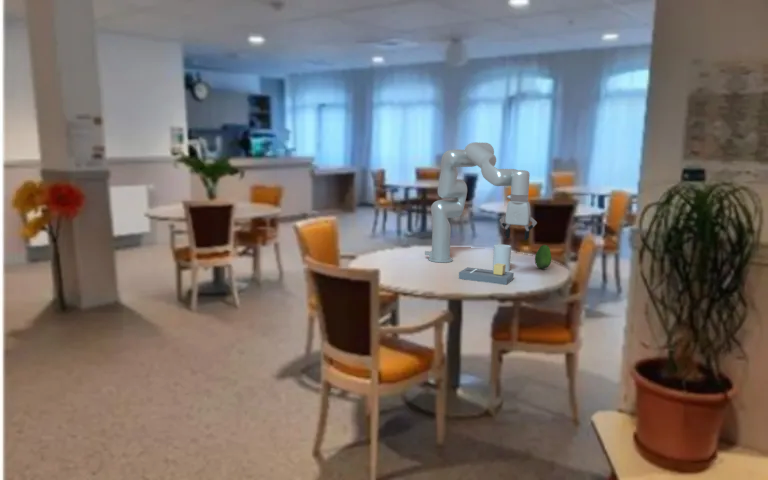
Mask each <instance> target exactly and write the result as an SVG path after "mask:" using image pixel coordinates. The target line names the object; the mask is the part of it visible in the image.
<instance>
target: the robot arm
mask: <svg viewBox="0 0 768 480" xmlns="http://www.w3.org/2000/svg"><path fill="white" fill-rule="evenodd" d="M494 149H495V148H494V147H493V145H492V144H490V143H488V142H471V143H467V145H466V146H465V148H464V149H448V150H447V151H445V152H444V153H443V154H442V156H441V163H440V164H441V165H440V166H441V167H440V175H439V181H438V185H437V195H438V197H440V198H441V199H438V200H436V201H434V202H433V203H432V204H431V206H430V207H431V208H430V211H431V212H430V213H431V221H432V224H431V225H432V226H431V227H432V228H431V230H432V233H431V235H432V236H431V250H425V251H424V255H425V256H428V261H429V262H433V263H450V262H453V257H451V235H452V233H451V232H452V231H451V230H452V226H451V224H450V222H449V219H450V218H451V219H453V218H454V219H456V218H459V217H461V216H462V214H463V213H464V210H465V209H464V208H465V205H466V199H467V194H468V186H467V183H466V182H465V181H464V180H462V179H458V178H457V177H458V169H457V168H473V167H478V168H479V169H480V172H481V174H482V178H483V179H485V181H487V182H488V183H489V184H491V185H493V186H495V187H508V186H509V187H510V194H509V195H507V197H506V198H507V199H509V201H508V202H507V206H506V212H505V215H504V216H502V217H501V218H500V219H499V223H500V224H501V225H502V227H503V228H504V229H505V235H504V236H505V237H506V239H509V238H511V237H510V236H511V228H510V227H511V226H512V225H513V226H522V227H523V226H524V229H525V231H524V237H523V238H524V241H527V240H528V239H529V238H530V230H532V229H533V228H534V227H535V226H536V225H537V224H538V222H537V221H536V220H535V219H534V218H533V217H532V216H531V205H530V202H529V190H530V175H531V174H530V171H528V170H526V169H525V170H524V169H523V170H522V169H515V168H497V167H496V164H497V157H496V155H495V150H494ZM530 223H531V224H530ZM529 224H530V225H529Z"/></svg>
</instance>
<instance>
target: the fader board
mask: <svg viewBox="0 0 768 480" xmlns="http://www.w3.org/2000/svg"><path fill="white" fill-rule="evenodd" d="M458 279H459V280H464V281H465V280H466V281H474V282H481V283H488V284H489V283H491V284H498V285H505V286H507V285H508V284H509V283H510V282H512V281H513V280H514V272H510V271H508V272H505V273H504V274H503V275H498V274H494V270H493V269H486V268H485V269H483V268H476V267H475V268H474V267H466V268H464V269H462V270H461V271H459V272H458Z"/></svg>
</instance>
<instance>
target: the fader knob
mask: <svg viewBox="0 0 768 480" xmlns="http://www.w3.org/2000/svg"><path fill="white" fill-rule="evenodd" d="M505 268H506V264H499V263H497V264H495V265H494V274H498V275H503V274H504V273H505Z"/></svg>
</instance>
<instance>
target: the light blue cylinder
mask: <svg viewBox="0 0 768 480" xmlns="http://www.w3.org/2000/svg"><path fill="white" fill-rule="evenodd" d="M511 254H512V245H509V244H501V243H500V244H498V243H497V244H494V245H493V257H492V259H493V260H492V270H494V265H495V264H497V263H499V264H506V268H505V272H510V271H511Z"/></svg>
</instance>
